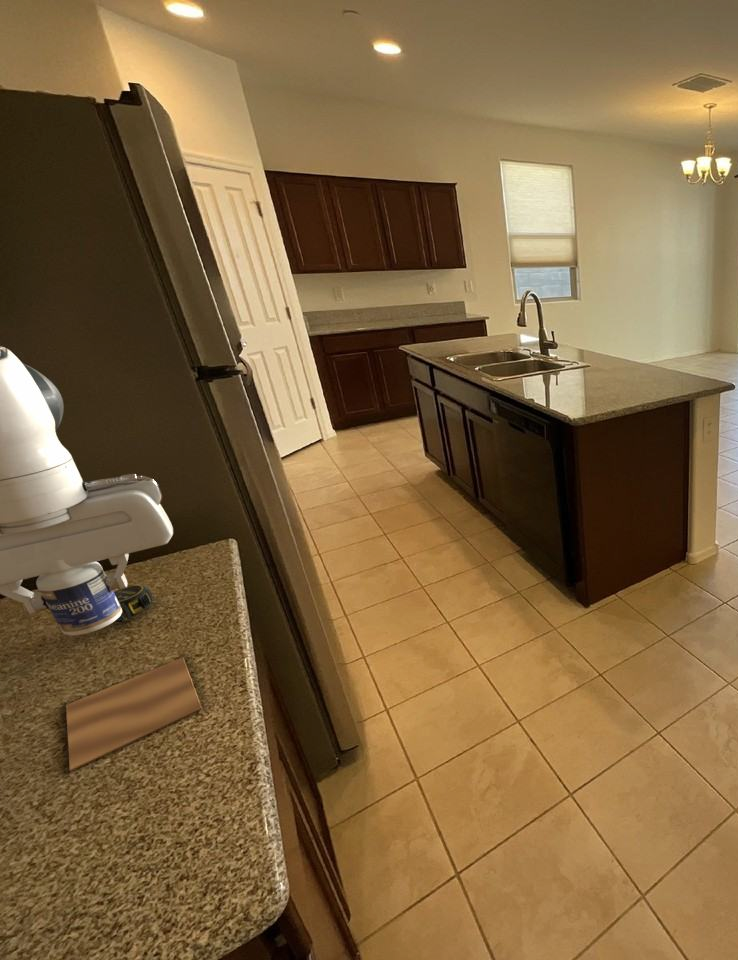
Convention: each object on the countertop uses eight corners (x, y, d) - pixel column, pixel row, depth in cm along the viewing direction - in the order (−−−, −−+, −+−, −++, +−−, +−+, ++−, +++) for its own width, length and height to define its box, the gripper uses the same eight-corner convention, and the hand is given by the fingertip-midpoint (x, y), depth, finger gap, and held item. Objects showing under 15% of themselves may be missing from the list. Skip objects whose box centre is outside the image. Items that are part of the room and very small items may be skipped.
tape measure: (89, 623, 84) (79, 604, 82) (136, 598, 90) (127, 580, 88) (121, 629, 82) (111, 609, 81) (166, 603, 88) (158, 585, 87)
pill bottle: (50, 640, 61) (10, 569, 57) (83, 613, 65) (48, 545, 62) (105, 632, 62) (69, 562, 58) (133, 606, 67) (102, 539, 63)
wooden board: (66, 706, 68) (65, 704, 68) (183, 658, 76) (183, 657, 76) (70, 771, 59) (69, 769, 59) (202, 709, 67) (201, 708, 67)
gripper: (153, 463, 65) (191, 558, 70) (-110, 509, 53) (-40, 619, 59) (150, 477, 61) (191, 578, 66) (-137, 531, 49) (-59, 649, 54)
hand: (80, 598), depth 62 cm, fingers closed on pill bottle, 5 cm apart
